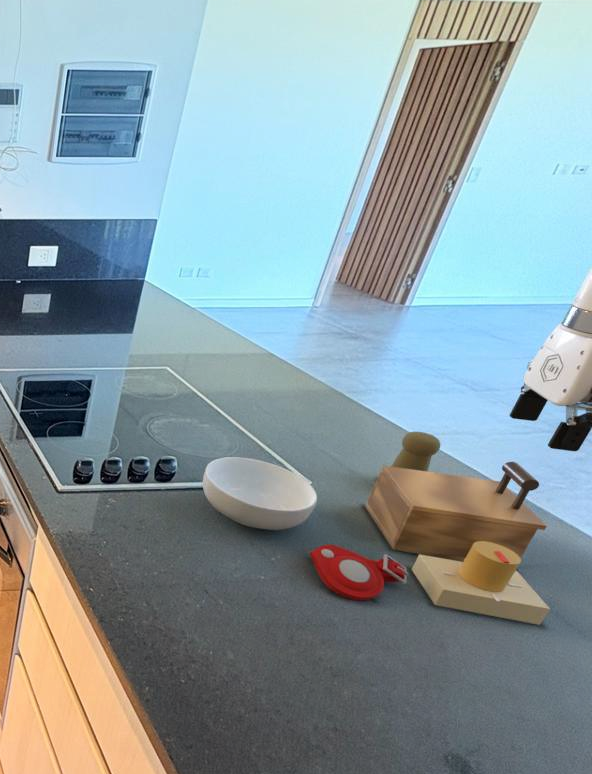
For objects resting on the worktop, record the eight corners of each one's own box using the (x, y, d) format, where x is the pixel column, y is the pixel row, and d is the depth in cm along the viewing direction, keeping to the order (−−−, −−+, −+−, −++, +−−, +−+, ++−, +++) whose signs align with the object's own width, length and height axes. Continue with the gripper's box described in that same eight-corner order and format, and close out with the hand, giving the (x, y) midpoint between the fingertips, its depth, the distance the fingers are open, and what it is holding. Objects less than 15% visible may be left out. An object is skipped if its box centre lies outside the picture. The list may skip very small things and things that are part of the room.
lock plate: (505, 583, 92) (515, 567, 91) (542, 628, 84) (553, 611, 83) (409, 567, 96) (417, 550, 94) (436, 608, 88) (445, 591, 86)
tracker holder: (363, 606, 87) (300, 552, 93) (349, 620, 90) (289, 567, 96) (423, 569, 89) (358, 519, 96) (408, 584, 92) (346, 535, 99)
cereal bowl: (316, 555, 98) (330, 519, 95) (201, 533, 103) (211, 498, 100) (292, 497, 112) (304, 464, 109) (192, 481, 118) (200, 449, 114)
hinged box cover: (498, 485, 102) (516, 452, 99) (544, 530, 91) (565, 494, 88) (381, 469, 106) (394, 437, 104) (411, 509, 96) (428, 475, 93)
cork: (374, 476, 119) (396, 426, 114) (408, 478, 118) (432, 428, 113) (393, 494, 113) (417, 442, 108) (429, 496, 113) (455, 444, 108)
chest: (472, 523, 105) (492, 485, 102) (513, 570, 95) (537, 529, 91) (365, 506, 110) (380, 469, 106) (393, 549, 99) (411, 510, 96)
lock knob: (451, 565, 91) (466, 536, 89) (493, 572, 90) (509, 543, 88) (468, 587, 87) (485, 558, 85) (512, 595, 86) (530, 565, 83)
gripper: (531, 303, 92) (480, 405, 100) (612, 341, 77) (544, 457, 85) (595, 308, 90) (538, 412, 98) (691, 348, 75) (614, 467, 83)
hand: (541, 433), depth 91 cm, fingers open, 9 cm apart
